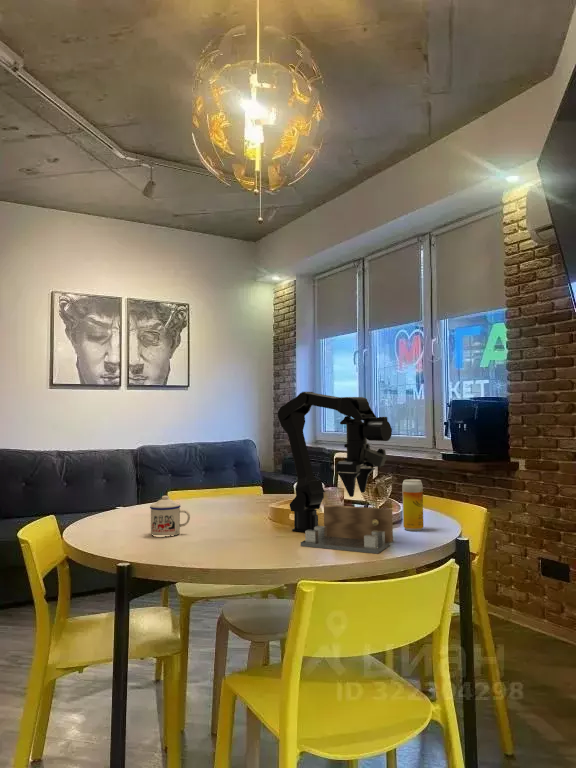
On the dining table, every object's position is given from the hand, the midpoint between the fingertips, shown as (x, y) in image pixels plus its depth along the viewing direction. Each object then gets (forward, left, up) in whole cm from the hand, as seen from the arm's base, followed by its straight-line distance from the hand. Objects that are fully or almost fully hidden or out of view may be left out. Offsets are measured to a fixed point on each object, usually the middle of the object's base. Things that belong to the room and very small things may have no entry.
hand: (357, 494), depth 170 cm
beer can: (+11, +19, -13) cm, 25 cm away
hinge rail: (0, -10, -13) cm, 16 cm away
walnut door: (0, 0, -13) cm, 13 cm away
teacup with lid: (-54, -17, -13) cm, 58 cm away
